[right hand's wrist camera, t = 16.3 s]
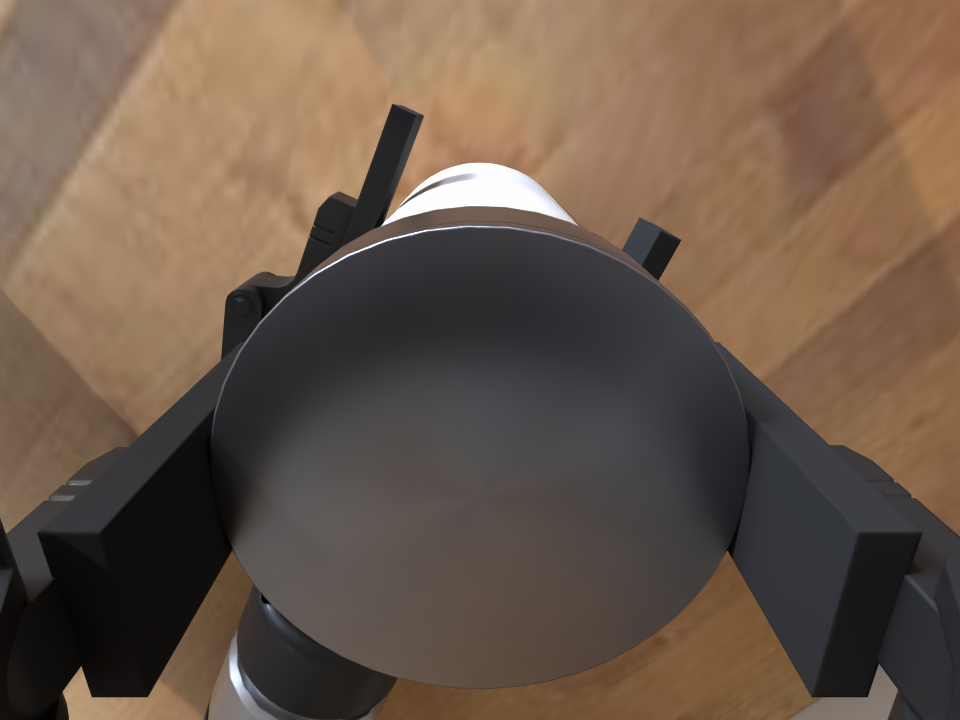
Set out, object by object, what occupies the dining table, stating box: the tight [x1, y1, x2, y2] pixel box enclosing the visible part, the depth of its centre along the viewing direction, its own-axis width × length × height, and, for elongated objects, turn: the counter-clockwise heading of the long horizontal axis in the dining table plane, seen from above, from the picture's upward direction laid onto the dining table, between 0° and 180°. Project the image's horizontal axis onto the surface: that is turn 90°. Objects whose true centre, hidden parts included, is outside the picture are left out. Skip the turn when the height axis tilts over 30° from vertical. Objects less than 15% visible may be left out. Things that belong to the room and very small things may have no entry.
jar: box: [382, 163, 578, 226], centre depth 19 cm, size 8×8×18 cm
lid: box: [210, 206, 750, 689], centre depth 11 cm, size 9×9×2 cm
